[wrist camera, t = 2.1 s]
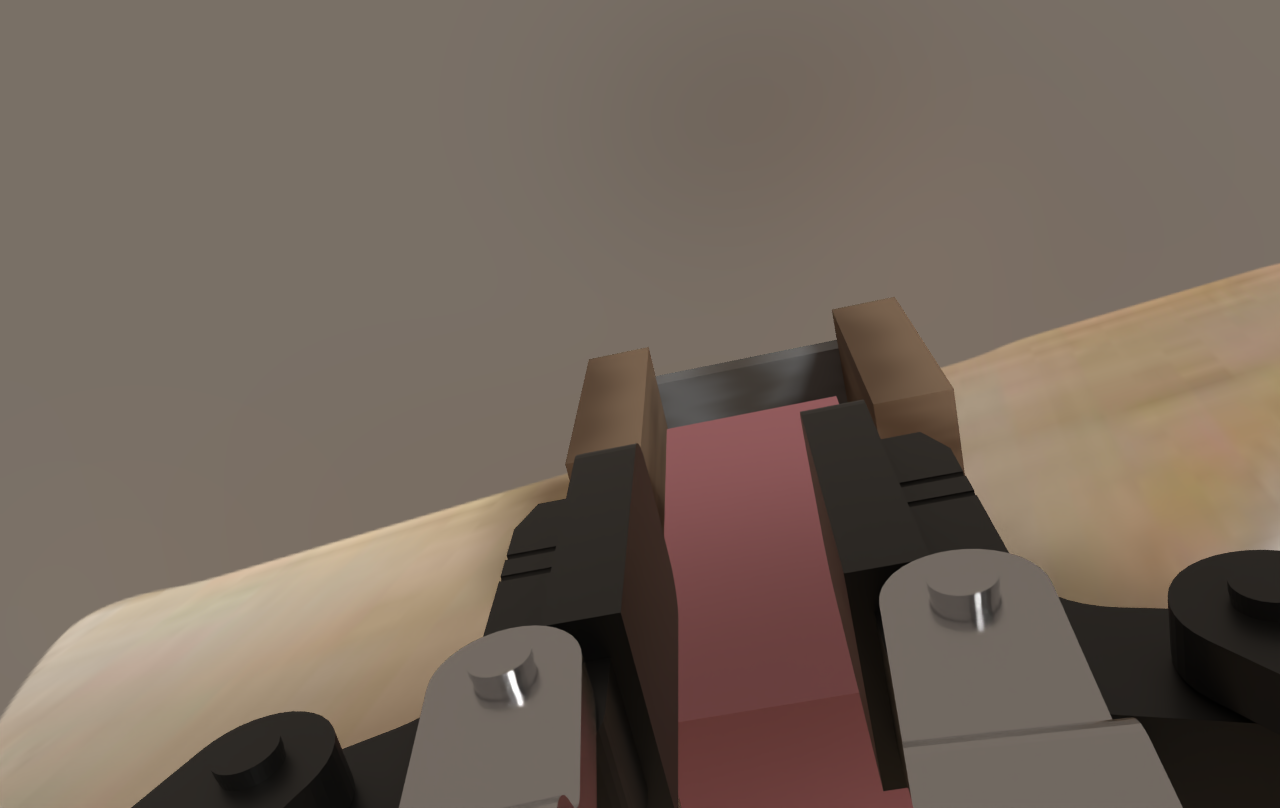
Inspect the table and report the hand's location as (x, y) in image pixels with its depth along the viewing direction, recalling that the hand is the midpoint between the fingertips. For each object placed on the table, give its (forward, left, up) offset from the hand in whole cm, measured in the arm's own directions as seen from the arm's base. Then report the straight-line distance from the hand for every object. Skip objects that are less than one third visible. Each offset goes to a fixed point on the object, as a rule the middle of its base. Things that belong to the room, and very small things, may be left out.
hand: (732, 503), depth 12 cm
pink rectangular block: (0, -16, -22) cm, 27 cm away
